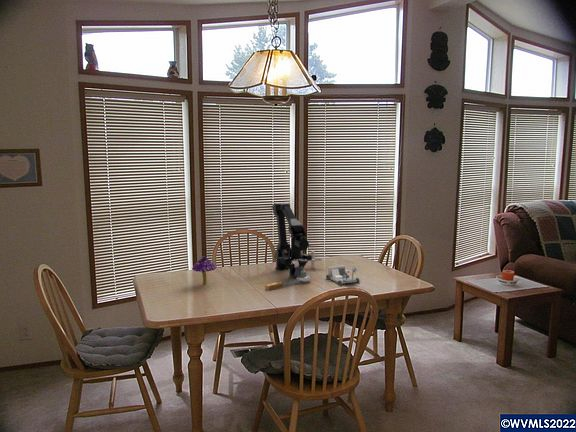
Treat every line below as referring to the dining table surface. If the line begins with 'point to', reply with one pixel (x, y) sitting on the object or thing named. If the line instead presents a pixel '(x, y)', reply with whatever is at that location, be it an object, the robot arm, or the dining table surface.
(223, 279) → the dining table surface
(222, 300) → the dining table surface
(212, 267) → the purple mushroom
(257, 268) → the dining table surface
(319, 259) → the pipe connector
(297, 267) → the dark grey block
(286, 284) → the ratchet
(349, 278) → the toy car
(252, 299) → the dining table surface
